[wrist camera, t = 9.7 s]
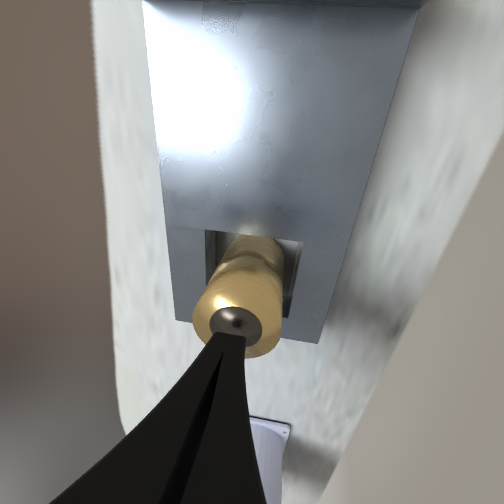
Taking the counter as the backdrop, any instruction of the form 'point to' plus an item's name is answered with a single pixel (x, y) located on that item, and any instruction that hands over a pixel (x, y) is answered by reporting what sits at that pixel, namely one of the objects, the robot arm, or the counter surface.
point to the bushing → (245, 295)
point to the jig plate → (270, 131)
